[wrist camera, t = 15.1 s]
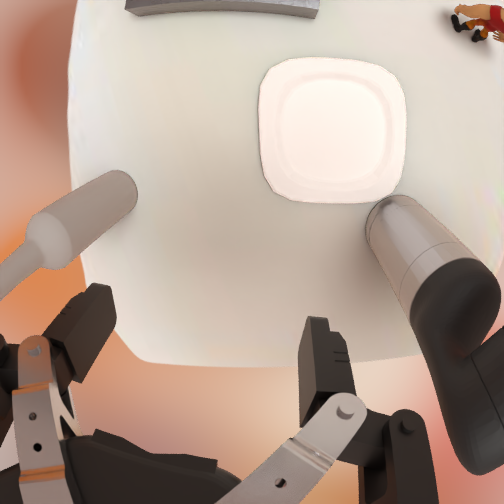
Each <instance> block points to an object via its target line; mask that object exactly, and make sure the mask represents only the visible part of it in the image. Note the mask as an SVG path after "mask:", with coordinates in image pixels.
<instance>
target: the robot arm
mask: <svg viewBox="0 0 504 504" xmlns="http://www.w3.org/2000/svg"><path fill="white" fill-rule="evenodd" d="M366 237H367V241H368V243H369V245H370V247H371V248H372V250H373V252H374V254H375V256H376V258H377V260H378V262H379V263H380V265H381V267H382V269H383V271H384V273H385V275H386V276H387V278H388V280H389V282H390V284H391V286H392V288H393V290H394V292H395V294H396V296H397V298H398V300H399V302H400V304H401V306H402V308H403V310H404V312H405V314H406V316H407V318H408V320H409V323H410V325H411V327H412V329H413V331H414V333H415V335H416V338H417V341H418V343H419V346H420V348H421V350H422V353H423V355H424V358H425V360H426V363H427V365H428V368H429V371H430V374H431V377H432V380H433V384H434V387H435V390H436V393H437V397H438V401H439V405H440V408H441V412H442V416H443V419H444V422H445V426H446V429H447V432H448V436H449V438H450V441H451V444H452V446H453V449H454V451H455V454H456V456H457V457H458V459H459V461H460V462H461V464H462V465H463V466H464V467H465V468H466V469H467V471H469V472H470V473H472V474H474V475H484V474H486V473H489V472H491V471H493V470H494V469H496V468H498V467H500V466H501V465H503V464H504V326H503V327H502V328H500V329H499V330H498V331H497V332H496V333H495V334H494V335H492V336H491V337H490V338H489V339H488V340H486V341H485V342H484V343H483V344H482V345H481V343H482V342H483V340H484V338H485V337H486V335H487V333H488V332H489V330H490V329H491V327H492V325H493V324H494V322H495V320H496V317H497V315H498V312H499V309H500V303H501V290H500V286H499V284H498V281H497V279H496V278H495V276H494V275H493V274H492V272H491V271H490V270H489V269H488V268H487V267H486V266H485V265H484V264H483V263H482V262H481V261H480V260H479V259H478V258H477V257H476V256H475V255H474V254H473V253H472V252H471V251H470V250H469V249H468V248H467V247H466V246H465V245H464V244H463V243H462V242H461V241H460V240H459V239H458V238H457V237H456V236H455V235H454V234H453V233H451V232H450V231H449V230H448V229H447V228H446V227H445V226H444V225H443V224H442V223H441V222H439V221H438V220H437V219H436V218H435V217H434V216H433V215H432V214H430V213H429V212H428V211H427V210H426V209H425V208H423V207H422V206H421V205H420V204H419V203H417V202H416V201H415V200H414V199H412V198H410V197H407V196H403V195H395V196H391V197H388V198H386V199H384V200H382V201H381V202H380V203H378V204H377V205H376V206H375V207H374V209H373V210H372V211H371V213H370V215H369V217H368V220H367V223H366ZM116 319H117V316H116V310H115V305H114V300H113V295H112V290H111V287H110V286H108V285H103V284H98V283H92V284H91V285H90V286H89V287H88V288H87V289H86V291H85V292H81V293H79V294H78V295H76V296H74V297H73V298H71V300H70V301H69V302H68V303H67V304H66V306H65V307H64V308H63V309H62V311H61V312H60V314H58V315H57V317H56V318H55V319H54V320H53V321H52V323H51V324H50V325H49V326H48V328H47V329H46V330H45V331H44V333H43V334H42V335H41V336H40V335H34V336H30V337H28V338H26V339H25V340H24V341H23V342H22V343H21V344H7V343H6V341H5V339H4V337H3V336H2V335H1V334H0V447H1V445H2V443H3V441H4V438H5V436H6V434H7V432H8V430H9V428H10V426H11V424H12V422H13V420H14V429H15V438H16V445H17V451H18V458H19V463H18V464H16V465H13V466H11V467H9V468H7V469H4V470H2V471H0V504H299V503H300V502H301V501H302V500H303V499H304V498H305V496H306V495H307V494H308V493H309V492H310V491H311V490H312V489H313V488H314V486H315V485H316V484H317V483H318V482H319V480H320V479H321V478H322V477H323V476H324V474H325V473H326V472H327V471H328V469H329V468H330V467H331V466H332V464H333V463H334V461H335V460H339V461H343V462H347V463H351V464H355V465H358V480H359V504H439V500H438V492H437V485H436V478H435V472H434V466H433V461H432V455H431V450H430V445H429V440H428V435H427V431H426V427H425V422H424V420H423V419H422V417H421V416H420V415H419V414H418V413H416V412H414V411H412V410H407V409H402V410H398V411H396V412H395V413H394V414H393V415H392V416H388V415H385V414H381V413H377V412H374V411H371V410H369V409H367V408H366V406H365V404H364V403H363V401H362V400H361V399H360V398H358V397H357V395H356V391H355V385H354V380H353V375H352V369H351V364H350V363H349V362H350V359H349V355H348V350H347V345H346V341H345V340H344V339H343V337H342V336H341V335H340V333H339V332H331V331H330V328H329V323H328V319H327V318H322V317H312V316H308V317H307V320H306V324H305V327H304V331H303V335H302V338H301V342H300V345H299V351H298V374H299V407H300V408H299V411H300V427H301V428H302V429H301V430H300V431H299V433H297V435H296V436H294V437H293V438H289V439H288V440H287V441H286V442H285V443H283V444H282V445H281V446H280V447H279V448H278V449H277V450H276V451H275V452H274V453H273V454H272V455H271V456H270V457H269V458H268V459H267V460H265V462H263V463H262V464H261V465H260V466H259V467H258V468H257V469H256V470H254V471H253V472H252V473H251V474H250V475H249V476H248V477H247V478H245V479H244V480H243V481H241V480H240V479H239V478H237V477H236V476H235V475H233V474H231V473H230V472H228V471H226V470H224V469H221V468H219V467H217V461H218V460H215V459H208V458H203V457H198V456H193V455H187V454H153V453H149V452H147V451H145V450H143V449H141V448H140V447H138V446H136V445H134V444H133V443H131V442H129V441H127V440H126V439H124V438H122V437H119V436H116V435H113V434H110V433H107V432H104V431H101V430H98V429H95V432H94V434H93V435H83V433H82V431H81V429H80V426H79V423H78V419H77V415H76V411H75V407H74V402H73V398H72V393H71V389H70V386H69V384H70V382H71V381H72V380H73V381H76V382H78V383H82V382H83V380H84V378H85V377H86V375H87V373H88V371H89V370H90V368H91V366H92V364H93V363H94V361H95V359H96V358H97V356H98V354H99V352H100V351H101V349H102V347H103V346H104V344H105V342H106V341H107V339H108V337H109V336H110V334H111V333H112V331H113V329H114V327H115V325H116Z"/></svg>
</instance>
